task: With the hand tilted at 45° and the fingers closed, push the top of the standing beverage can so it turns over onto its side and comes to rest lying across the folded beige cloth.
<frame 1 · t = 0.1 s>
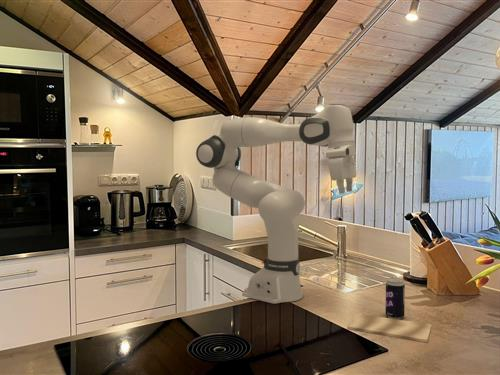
hand: (345, 192, 145), 39 cm above the worktop, tool pointing down, fingers open, 8 cm apart
beverage can: (394, 317, 137), on the worktop
folded beige cloth: (389, 328, 128), on the worktop
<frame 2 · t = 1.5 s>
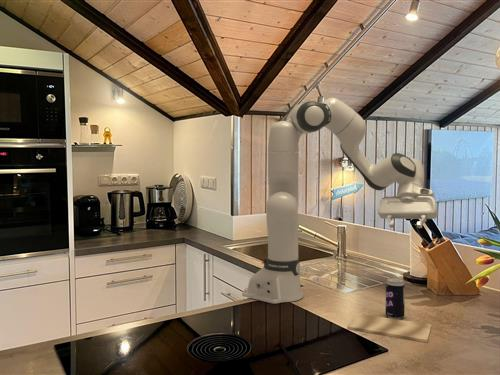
hand: (405, 226, 153), 26 cm above the worktop, tool tilted 45°, fingers open, 8 cm apart
nothing on the worktop moved.
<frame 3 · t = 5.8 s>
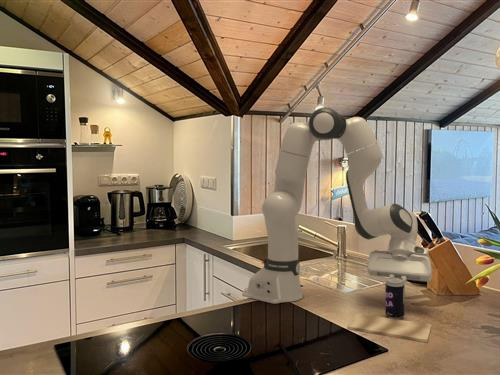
hand: (396, 288, 139), 8 cm above the worktop, tool tilted 45°, fingers closed
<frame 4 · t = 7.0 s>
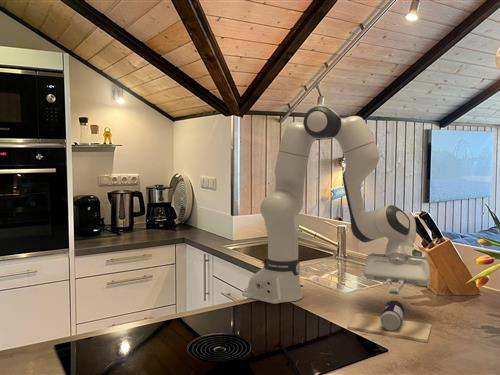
hand: (393, 293, 134), 8 cm above the worktop, tool tilted 45°, fingers closed
beverage can: (394, 308, 134), point 4 cm above the worktop, touching folded beige cloth
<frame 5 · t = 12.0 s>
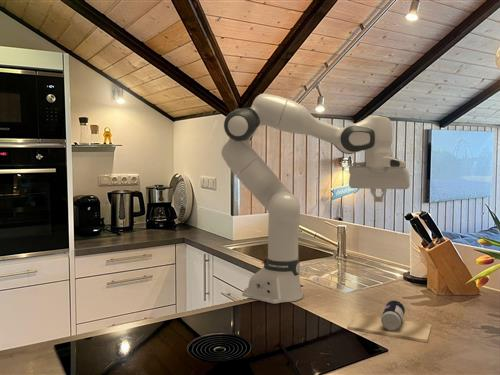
hand: (378, 201, 150), 35 cm above the worktop, tool pointing down, fingers closed
nothing on the worktop moved.
at the end: beverage can tilted 90°; beverage can inside the target area (1.1 cm from its centre), point 3.6 cm above the worktop; beverage can touching folded beige cloth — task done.
